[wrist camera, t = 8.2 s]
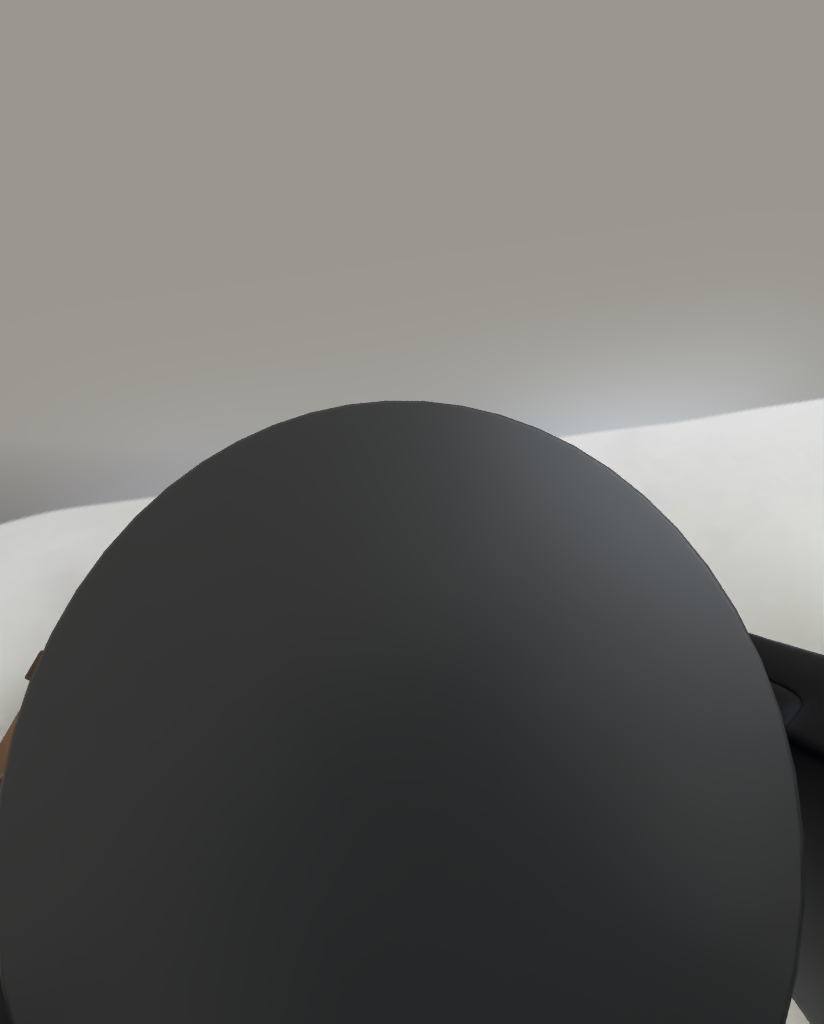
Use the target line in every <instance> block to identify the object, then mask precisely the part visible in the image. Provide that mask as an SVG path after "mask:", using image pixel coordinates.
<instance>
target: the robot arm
mask: <svg viewBox="0 0 824 1024" xmlns="http://www.w3.org/2000/svg"><path fill="white" fill-rule="evenodd" d="M748 634H749V636H750V638H751V640H752V642H753V644H754V646H755V648H756V650H757V652H758V654H759V656H760V658H761V660H762V663H763V665H764V668H765V671H766V673H767V676H768V679H769V681H770V684H771V687H772V689H773V692H774V695H775V698H776V700H777V703H778V706H779V708H780V711H781V714H782V718H783V722H784V726H785V730H786V734H787V738H788V742H789V746H790V750H791V754H792V758H793V762H794V766H795V770H796V776H797V784H798V792H799V799H800V807H801V815H802V822H803V830H804V852H805V910H804V919H803V928H802V937H801V946H800V955H799V964H798V973H797V978H796V982H795V986H794V990H793V994H792V998H793V1000H794V1001H795V1002H796V1004H797V1005H798V1007H799V1008H800V1010H801V1011H802V1012H803V1014H804V1015H805V1017H806V1018H807V1020H808V1021H809V1022H810V1024H824V655H822V654H818V653H814V652H811V651H807V650H804V649H801V648H797V647H794V646H790V645H787V644H783V643H780V642H777V641H773V640H770V639H766V638H763V637H760V636H757V635H754V634H751V633H748ZM0 1024H10V1020H9V1016H8V1012H7V1008H6V1004H5V1000H4V996H3V992H2V988H1V981H0Z"/></svg>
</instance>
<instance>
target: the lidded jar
mask: <svg viewBox="0 0 824 1024" xmlns="http://www.w3.org/2000/svg"><path fill="white" fill-rule="evenodd" d="M804 910H805V852H804V830H803V822H802V815H801V807H800V799H799V792H798V784H797V776H796V770H795V766H794V762H793V758H792V754H791V750H790V746H789V742H788V738H787V734H786V730H785V726H784V722H783V718H782V714H781V711H780V708H779V706H778V703H777V700H776V698H775V695H774V692H773V689H772V687H771V684H770V681H769V679H768V676H767V673H766V671H765V668H764V665H763V663H762V660H761V658H760V656H759V654H758V652H757V650H756V648H755V646H754V644H753V642H752V640H751V638H750V636H749V634H748V632H747V630H746V628H745V626H744V624H743V622H742V620H741V618H740V616H739V614H738V612H737V610H736V608H735V607H734V605H733V604H732V602H731V600H730V599H729V597H728V596H727V594H726V593H725V591H724V590H723V588H722V587H721V585H720V583H719V582H718V580H717V579H716V577H715V576H714V574H713V573H712V571H711V570H710V568H709V566H708V565H707V564H706V563H705V562H704V560H703V559H702V558H701V557H700V555H699V554H698V553H697V552H696V550H695V549H694V548H693V547H692V546H691V544H690V543H689V542H688V541H687V539H686V538H685V537H684V536H683V534H682V533H681V532H680V531H679V530H678V528H677V527H676V526H675V525H674V524H673V523H672V522H671V521H670V520H669V519H668V518H667V517H665V516H664V515H663V514H662V513H661V512H660V511H659V510H658V509H657V508H656V507H655V506H654V505H653V504H652V503H651V502H650V501H649V500H648V499H647V498H646V497H645V496H644V495H643V494H642V493H640V492H639V491H638V490H637V489H635V488H634V487H633V486H632V485H630V484H629V483H628V482H626V481H625V480H624V479H623V478H621V477H620V476H619V475H618V474H616V473H615V472H614V471H613V470H611V469H610V468H609V467H607V466H605V465H604V464H602V463H601V462H599V461H597V460H596V459H594V458H593V457H591V456H589V455H588V454H586V453H585V452H583V451H582V450H580V449H578V448H577V447H575V446H573V445H571V444H569V443H567V442H565V441H563V440H561V439H559V438H557V437H555V436H553V435H551V434H549V433H547V432H545V431H542V430H540V429H538V428H536V427H533V426H530V425H527V424H525V423H522V422H519V421H516V420H513V419H510V418H508V417H505V416H502V415H499V414H494V413H491V412H486V411H482V410H478V409H473V408H469V407H465V406H459V405H451V404H443V403H434V402H426V401H380V402H370V403H360V404H350V405H344V406H340V407H335V408H330V409H326V410H321V411H316V412H311V413H308V414H305V415H302V416H299V417H296V418H293V419H290V420H287V421H284V422H281V423H278V424H275V425H272V426H270V427H268V428H266V429H263V430H261V431H259V432H257V433H255V434H253V435H250V436H248V437H246V438H244V439H241V440H239V441H237V442H235V443H234V444H232V445H230V446H228V447H227V448H225V449H223V450H222V451H220V452H218V453H216V454H215V455H213V456H211V457H210V458H208V459H206V460H205V461H203V462H201V463H200V464H199V465H197V466H196V467H195V468H193V469H192V470H191V471H189V472H188V473H187V474H185V475H184V476H182V477H181V478H180V479H178V480H177V481H176V482H174V483H173V484H172V485H170V486H169V487H168V488H166V489H165V490H164V491H163V492H162V493H161V494H160V495H159V496H158V497H157V498H155V499H154V500H153V501H152V502H151V503H150V504H149V505H148V506H147V507H146V508H144V509H143V510H142V511H141V512H140V513H139V514H138V515H137V516H136V517H135V518H134V519H133V520H132V521H131V522H130V523H129V524H128V526H127V527H126V528H125V529H124V530H123V531H122V532H121V533H120V535H119V536H118V537H117V538H116V539H115V540H114V541H113V542H112V544H111V545H110V546H109V547H108V548H107V549H106V550H105V551H104V553H103V554H102V556H101V557H100V558H99V560H98V561H97V562H96V564H95V565H94V567H93V568H92V569H91V571H90V572H89V573H88V575H87V576H86V578H85V579H84V580H83V582H82V583H81V585H80V586H79V587H78V589H77V590H76V592H75V593H74V595H73V597H72V599H71V600H70V602H69V604H68V606H67V607H66V609H65V611H64V612H63V614H62V616H61V618H60V619H59V621H58V623H57V625H56V626H55V628H54V630H53V631H52V633H51V635H50V637H49V640H48V642H47V644H46V646H45V648H44V651H43V653H42V655H41V657H40V660H39V662H38V664H37V666H36V668H35V671H34V673H33V675H32V677H31V680H30V682H29V685H28V688H27V691H26V694H25V697H24V700H23V703H22V706H21V709H20V712H19V715H18V718H17V721H16V724H15V727H14V730H13V733H12V736H11V741H10V745H9V750H8V754H7V759H6V764H5V768H4V773H3V777H2V782H1V787H0V981H1V988H2V992H3V996H4V1000H5V1004H6V1008H7V1012H8V1016H9V1020H10V1024H785V1023H786V1019H787V1015H788V1010H789V1006H790V1002H791V998H792V994H793V990H794V986H795V982H796V978H797V973H798V964H799V955H800V946H801V937H802V928H803V919H804Z"/></svg>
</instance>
